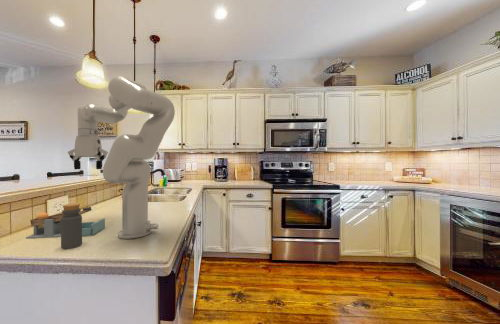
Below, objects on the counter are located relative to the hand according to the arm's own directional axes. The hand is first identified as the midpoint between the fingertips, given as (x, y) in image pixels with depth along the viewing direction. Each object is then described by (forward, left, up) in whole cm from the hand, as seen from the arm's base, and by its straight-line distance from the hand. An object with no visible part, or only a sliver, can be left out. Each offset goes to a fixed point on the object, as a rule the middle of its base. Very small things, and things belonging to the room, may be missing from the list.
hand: (88, 169), depth 101 cm
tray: (-6, +11, -27) cm, 30 cm away
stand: (+6, +11, -27) cm, 30 cm away
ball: (+11, +11, -19) cm, 25 cm away
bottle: (-9, +26, -27) cm, 39 cm away
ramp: (+6, +7, -23) cm, 24 cm away
